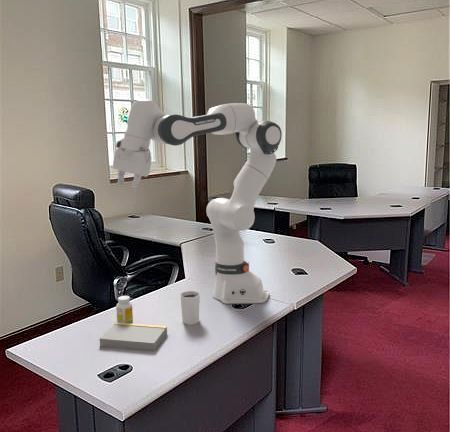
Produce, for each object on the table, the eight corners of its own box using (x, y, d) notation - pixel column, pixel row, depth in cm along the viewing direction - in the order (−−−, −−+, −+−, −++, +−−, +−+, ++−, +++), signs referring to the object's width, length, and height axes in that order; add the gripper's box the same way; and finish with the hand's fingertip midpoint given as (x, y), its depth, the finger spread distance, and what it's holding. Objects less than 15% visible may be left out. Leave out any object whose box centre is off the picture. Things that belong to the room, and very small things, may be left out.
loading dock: (167, 333, 152) (166, 326, 152) (154, 350, 141) (154, 342, 140) (116, 329, 156) (115, 322, 155) (100, 345, 144) (99, 337, 144)
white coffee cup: (186, 316, 166) (185, 289, 164) (203, 318, 164) (202, 292, 162) (177, 323, 160) (177, 296, 158) (195, 326, 158) (194, 298, 156)
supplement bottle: (116, 327, 158) (114, 300, 156) (118, 320, 163) (116, 295, 161) (132, 326, 158) (130, 300, 156) (133, 320, 163) (132, 294, 162)
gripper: (159, 151, 151) (149, 192, 151) (129, 146, 166) (121, 183, 167) (142, 146, 147) (133, 188, 147) (114, 142, 162) (105, 180, 163)
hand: (126, 186), depth 157 cm, fingers open, 8 cm apart
